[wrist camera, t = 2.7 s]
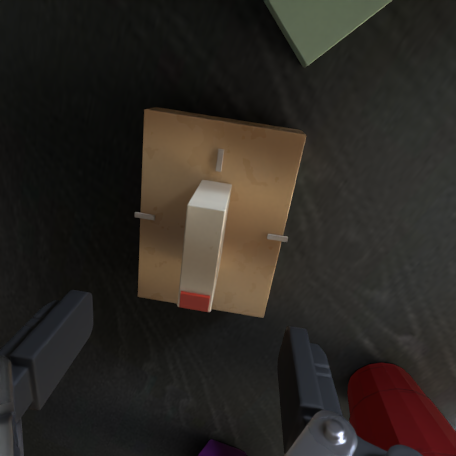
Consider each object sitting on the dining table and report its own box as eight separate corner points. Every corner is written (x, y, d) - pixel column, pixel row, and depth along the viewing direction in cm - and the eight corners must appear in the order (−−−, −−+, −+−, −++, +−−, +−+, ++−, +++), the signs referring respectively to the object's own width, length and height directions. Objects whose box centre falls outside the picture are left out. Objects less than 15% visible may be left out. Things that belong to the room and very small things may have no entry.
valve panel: (150, 106, 22) (137, 108, 19) (306, 130, 22) (313, 135, 19) (143, 279, 27) (132, 297, 25) (266, 299, 27) (268, 320, 25)
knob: (201, 179, 21) (186, 206, 16) (232, 184, 21) (225, 212, 16) (192, 264, 23) (176, 309, 19) (219, 269, 23) (209, 315, 19)
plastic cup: (344, 435, 33) (388, 607, 22) (302, 364, 30) (329, 525, 19) (454, 407, 30) (567, 586, 19) (422, 325, 27) (536, 486, 16)
